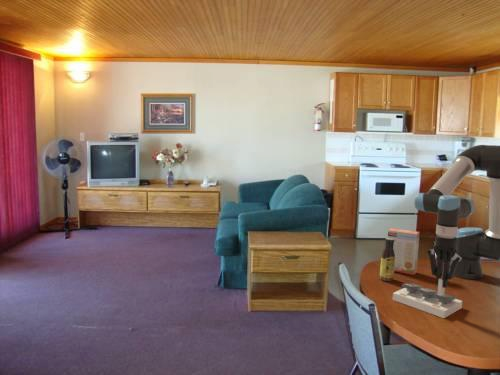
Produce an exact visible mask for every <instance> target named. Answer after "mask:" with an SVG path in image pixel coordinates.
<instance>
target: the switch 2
mask: <svg viewBox="0 0 500 375" xmlns="http://www.w3.org/2000/svg"><path fill="white" fill-rule="evenodd" d="M434 298H437V299H440V300H443V301H452V300H455V299H456V297H455V296H454V295H450V294H447V293H444V295H442V296H440V295H437V294H434Z"/></svg>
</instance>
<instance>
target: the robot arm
mask: <svg viewBox="0 0 500 375" xmlns="http://www.w3.org/2000/svg"><path fill="white" fill-rule="evenodd" d="M475 171H481V172H486V177H487V179H488V180H489V208H488V209H489V212H488V214H489V216H488V229H486V230H485V231H484V228H481V227H474V226H473V227H468V226H467V227H461V228H459V220H460V219H463V218H467V217H469V216H471V215H473V213H474V212H475V209H476V206H475V203H474V202H473V200H472V199H470V198H468V197H459V196H457V195H451V194H452V193H453V192H454V191H455V190H456V188H457V187H458V186H459V185H460V184H461V182H463V180H464V179H465V178H466V177H467V176H468V175H471V174H472V173H473V172H475ZM413 203H414V208H415V209H416V210H418V211H420V212H421V211H422V212H424V213H432V214H437V215H436V216H437V217H436V226H435V227H436V229H435V234H436V235H435V237H434V238H435V239H434V246H433V248H432V249H431V248H430V249H428V250H427V251H426V252H427V254H428V256H429V261H430V262H429V263H430V264H429V265H430V268H431V275H433V276H434V277H435V278H436V282H435V284H436V286H437V291H438V292H437V295H440V296H442V295H444V294H445V291H446V288H447V287H448V283H449V280H452V279H453V278H454V277H458V278H461V279H466V280H467V279H468V280H480V279H482V278H483V277H484V270H483V267H482V262H481V258H484V259H487V260H491V261H496V262H499V263H500V145H497V144H496V145H493V144H492V145H490V144H477V145H473V146H471V147H469V148H467V149H464V151H462V152H461V153H459V154H458V155H457V156H456V157H455V158H454V159H453V161H452V165H451V166H450V167H449V168H448V169H447V170H446V171H445V172H444V173H443V175H442V176H441V177H440V178H439V179H438V180H437V181H436V182H435V183H434V184H433V186H431V188H430V189H429V190H428V191H427V192H426V193H425V192H418V193H417V194H416V195H415V197H414V200H413Z"/></svg>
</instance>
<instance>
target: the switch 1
mask: <svg viewBox="0 0 500 375" xmlns="http://www.w3.org/2000/svg"><path fill="white" fill-rule="evenodd" d="M401 288H402V289H403V288H406V289H409V290H417V289H422V288H423V286H422V285H418V284H416V283H413V282H412V283H401Z"/></svg>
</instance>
